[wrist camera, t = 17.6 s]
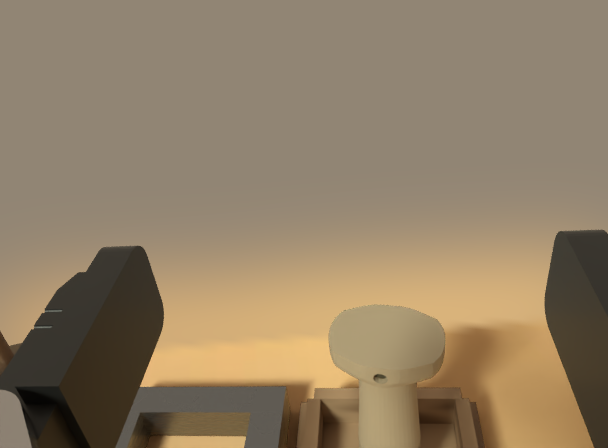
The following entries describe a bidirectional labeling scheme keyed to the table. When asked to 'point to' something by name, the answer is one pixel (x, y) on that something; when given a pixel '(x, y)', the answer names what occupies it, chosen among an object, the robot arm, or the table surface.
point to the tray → (431, 407)
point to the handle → (387, 368)
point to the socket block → (209, 414)
